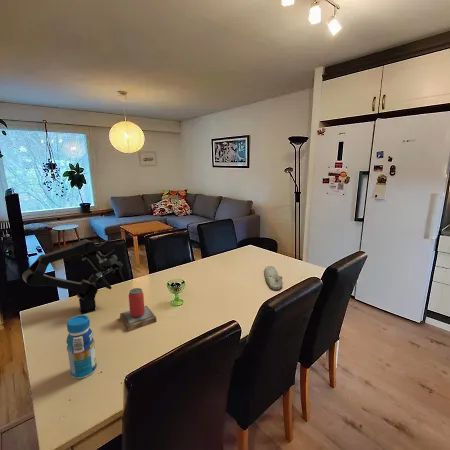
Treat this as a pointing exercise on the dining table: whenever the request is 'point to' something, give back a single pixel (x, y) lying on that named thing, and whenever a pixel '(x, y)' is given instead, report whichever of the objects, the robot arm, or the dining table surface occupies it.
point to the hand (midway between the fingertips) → (117, 284)
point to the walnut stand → (137, 319)
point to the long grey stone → (273, 278)
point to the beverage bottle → (80, 347)
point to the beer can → (136, 302)
